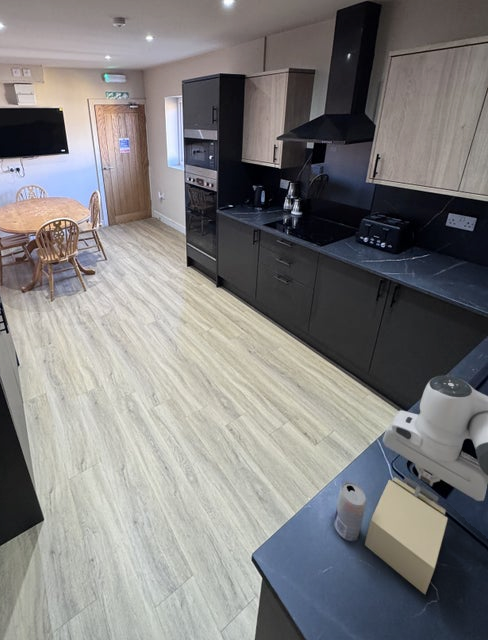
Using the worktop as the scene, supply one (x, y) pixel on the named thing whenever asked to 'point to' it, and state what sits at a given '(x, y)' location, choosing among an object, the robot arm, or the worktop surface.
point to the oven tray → (428, 496)
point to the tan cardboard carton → (406, 535)
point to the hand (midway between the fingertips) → (425, 480)
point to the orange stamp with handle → (417, 491)
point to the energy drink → (349, 511)
